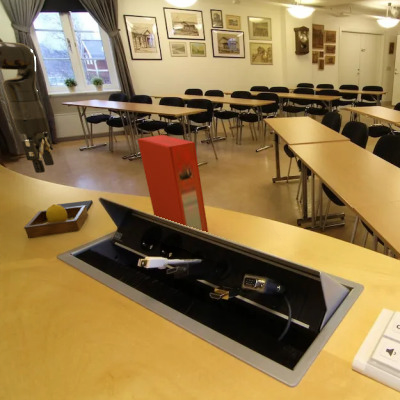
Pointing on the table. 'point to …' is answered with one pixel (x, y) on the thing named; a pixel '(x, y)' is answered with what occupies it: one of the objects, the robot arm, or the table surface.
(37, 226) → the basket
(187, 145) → the file binder
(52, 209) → the lemon
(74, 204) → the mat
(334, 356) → the table surface
